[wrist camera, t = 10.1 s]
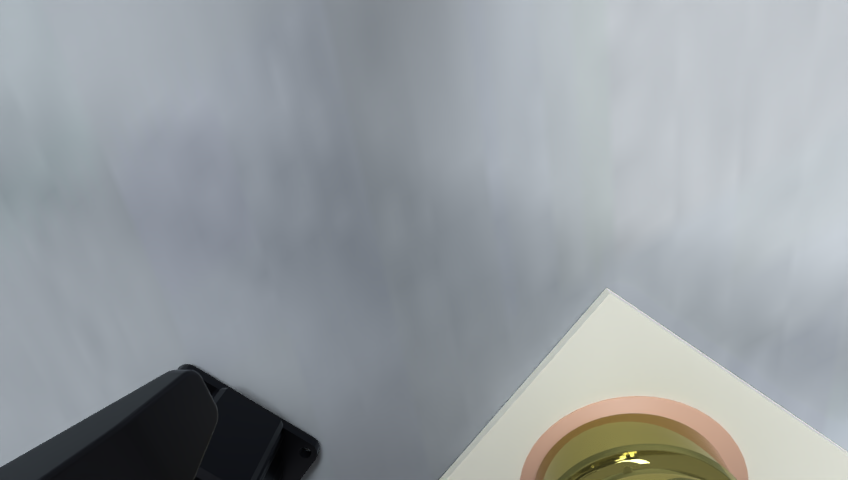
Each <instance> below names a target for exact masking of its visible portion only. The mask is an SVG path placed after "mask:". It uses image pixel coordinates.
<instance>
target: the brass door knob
mask: <svg viewBox="0 0 848 480" xmlns="http://www.w3.org/2000/svg"><path fill="white" fill-rule="evenodd" d="M535 480H737V479H736V478H735V477H734V476H733V475H732V474H731V472H730V471H729V469H728V467H727V466H726V464H725V462H724V461H723V459H722V457H721V456H720V454H719V453H718V451H717V450H716V449H715V447H714V446H713V445H712V444H711V443H710V442H709V441H708V440H707V439H706V438H705V437H704V436H702V435H701V434H700V433H698V432H697V431H695V430H694V429H692V428H690V427H689V426H687V425H685V424H683V423H680V422H678V421H675V420H672V419H669V418H666V417H662V416H657V415H651V414H640V413H628V414H618V415H611V416H607V417H602V418H599V419H596V420H593V421H590V422H588V423H585V424H583V425H581V426H579V427H577V428H576V429H574V430H572V431H571V432H569V433H568V434H566V435H565V436H564V437H563V438H561V439H560V440H559V441H558V442H557V443H556V444H555V445H554V446H553V447H552V448H551V449H550V451H549V452H548V453H547V454H546V456H545V457H544V459H543V461H542V463H541V464H540V466H539V469H538V471H537V474H536V478H535Z"/></svg>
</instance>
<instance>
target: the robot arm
mask: <svg viewBox="0 0 848 480" xmlns="http://www.w3.org/2000/svg"><path fill="white" fill-rule="evenodd" d="M303 447H306V448H308V449H309V450H310V451H305V450H304V449H303ZM319 450H320V445H319V443H318V441H317V440H316V439H315V438H313V437H312V436H310V435H308V434H307V433H305V432H303V431H302V430H300V429H298V428H297V427H295V426H293V425H292V424H290V423H288V422H287V421H285V420H283V419H282V418H280V417H278V416H277V415H275V414H273V413H272V412H270V411H268V410H267V409H265V408H263V407H262V406H260V405H258V404H257V403H255V402H253V401H252V400H250V399H248V398H246V397H245V396H243V395H241V394H240V393H238V392H236V391H235V390H233V389H231V388H230V387H228V386H226V385H225V384H223V383H221V382H220V381H218V380H216V379H215V378H213V377H211V376H210V375H208V374H206V373H205V372H203V371H201V370H200V369H198V368H196V367H195V366H192V365H189V364H184V365H182V366H180V367H179V368H178V369H177V370H172V371H169V372H167V373H165V374H163V375H161V376H160V377H158V378H156V379H154V380H153V381H151V382H149V383H147V384H146V385H144V386H142V387H140V388H139V389H137V390H135V391H133V392H132V393H130V394H128V395H126V396H125V397H123V398H121V399H119V400H118V401H116V402H114V403H112V404H111V405H109V406H107V407H105V408H104V409H102V410H100V411H98V412H97V413H95V414H93V415H91V416H90V417H88V418H86V419H84V420H83V421H81V422H79V423H77V424H76V425H74V426H72V427H70V428H69V429H67V430H65V431H63V432H62V433H60V434H58V435H56V436H55V437H53V438H51V439H49V440H48V441H46V442H44V443H42V444H41V445H39V446H37V447H35V448H34V449H32V450H30V451H28V452H27V453H25V454H23V455H21V456H20V457H18V458H16V459H14V460H13V461H11V462H9V463H7V464H6V465H4V466H2V467H0V480H300V479H301V478H302V477H303V475H304V474H305V473H306V471H307V470H308V469H309V467H310V466H311V465H312V463H313V462H314V461H315V459H316V457H317V455H318V452H319Z"/></svg>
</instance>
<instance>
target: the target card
mask: <svg viewBox="0 0 848 480" xmlns="http://www.w3.org/2000/svg"><path fill="white" fill-rule="evenodd" d="M628 413H640V414H651V415H657V416H662V417H666V418H669V419H672V420H675V421H678V422H680V423H683V424H685V425H687V426H689V427H690V428H692V429H694V430H695V431H697V432H698V433H700V434H701V435H702V436H704V437H705V438H706V439H707V440H708V441H709V442H710V443H711V444H712V445H713V446H714V447H715V449H716V450H717V451H718V453H719V454H720V456H721V457H722V459H723V461H724V462H725V464H726V466H727V467H728V469H729V471H730V472H731V474H732V475H733V476H734V477H735V478H736V479H737V480H848V452H847V451H846V450H844V449H843V448H842V447H840V446H839V445H837V444H836V443H834V442H833V441H831V440H830V439H828V438H827V437H825V436H824V435H822V434H821V433H819V432H818V431H817V430H815V429H814V428H812V427H811V426H809V425H808V424H806V423H805V422H803V421H802V420H800V419H799V418H797V417H796V416H795V415H793V414H792V413H790V412H789V411H787V410H786V409H784V408H783V407H781V406H780V405H778V404H777V403H775V402H774V401H772V400H771V399H770V398H768V397H767V396H765V395H764V394H762V393H761V392H759V391H758V390H756V389H755V388H753V387H752V386H750V385H749V384H748V383H746V382H745V381H743V380H742V379H740V378H739V377H737V376H736V375H734V374H733V373H731V372H730V371H728V370H727V369H725V368H724V367H723V366H721V365H720V364H718V363H717V362H715V361H714V360H712V359H711V358H709V357H708V356H706V355H705V354H703V353H702V352H700V351H699V350H698V349H696V348H695V347H693V346H692V345H690V344H689V343H687V342H686V341H684V340H683V339H681V338H680V337H678V336H677V335H676V334H674V333H673V332H671V331H670V330H668V329H667V328H665V327H664V326H662V325H661V324H659V323H658V322H656V321H655V320H653V319H652V318H651V317H649V316H648V315H646V314H645V313H643V312H642V311H640V310H639V309H637V308H636V307H634V306H633V305H631V304H630V303H628V302H627V301H626V300H624V299H623V298H621V297H620V296H618V295H617V294H615V293H614V292H612V291H611V290H609V289H608V288H606V289H605V290H604V291H603V292H602V293H601V295H600V296H599V297H598V298H597V299H596V300H595V301H594V303H593V304H592V305H591V306H590V307H589V308H588V309H587V311H586V312H585V313H584V314H583V315H582V316H581V317H580V319H579V320H578V321H577V322H576V323H575V324H574V325H573V327H572V328H571V329H570V330H569V331H568V332H567V334H566V335H565V336H564V337H563V338H562V339H561V340H560V342H559V343H558V344H557V345H556V346H555V347H554V348H553V350H552V351H551V352H550V353H549V354H548V355H547V356H546V358H545V359H544V360H543V361H542V362H541V363H540V364H539V366H538V367H537V368H536V369H535V370H534V371H533V372H532V374H531V375H530V376H529V377H528V378H527V379H526V381H525V382H524V383H523V384H522V385H521V386H520V387H519V389H518V390H517V391H516V392H515V393H514V394H513V395H512V397H511V398H510V399H509V400H508V401H507V402H506V403H505V405H504V406H503V407H502V408H501V409H500V410H499V411H498V413H497V414H496V415H495V416H494V417H493V418H492V420H491V421H490V422H489V423H488V424H487V425H486V426H485V428H484V429H483V430H482V431H481V432H480V433H479V434H478V436H477V437H476V438H475V439H474V440H473V441H472V442H471V444H470V445H469V446H468V447H467V448H466V449H465V450H464V452H463V453H462V454H461V455H460V456H459V457H458V458H457V460H456V461H455V462H454V463H453V464H452V465H451V467H450V468H449V469H448V470H447V471H446V472H445V473H444V475H443V476H442V477H441V478H440V479H439V480H535V478H536V474H537V471H538V469H539V466H540V464H541V463H542V461H543V459H544V457H545V456H546V454H547V453H548V452H549V451H550V449H551V448H552V447H553V446H554V445H555V444H556V443H557V442H558V441H559V440H560V439H561V438H563V437H564V436H565V435H566V434H568V433H569V432H571V431H572V430H574V429H576V428H577V427H579V426H581V425H583V424H585V423H588V422H590V421H593V420H596V419H599V418H602V417H607V416H611V415H618V414H628Z"/></svg>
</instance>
